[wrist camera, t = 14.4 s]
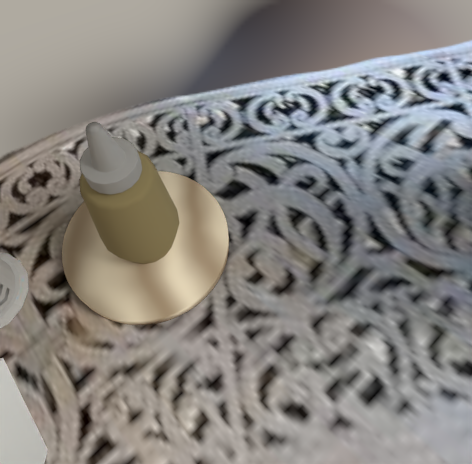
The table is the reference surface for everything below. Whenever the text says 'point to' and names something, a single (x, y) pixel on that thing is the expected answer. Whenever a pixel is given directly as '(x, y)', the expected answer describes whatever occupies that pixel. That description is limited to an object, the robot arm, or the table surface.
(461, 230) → the table surface
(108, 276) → the round beige plate
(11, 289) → the french press
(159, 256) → the squeeze bottle
